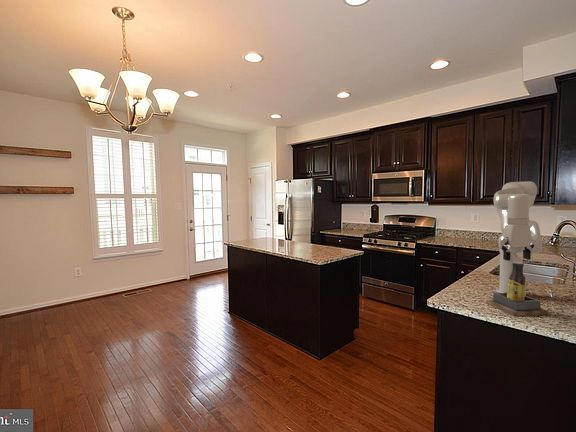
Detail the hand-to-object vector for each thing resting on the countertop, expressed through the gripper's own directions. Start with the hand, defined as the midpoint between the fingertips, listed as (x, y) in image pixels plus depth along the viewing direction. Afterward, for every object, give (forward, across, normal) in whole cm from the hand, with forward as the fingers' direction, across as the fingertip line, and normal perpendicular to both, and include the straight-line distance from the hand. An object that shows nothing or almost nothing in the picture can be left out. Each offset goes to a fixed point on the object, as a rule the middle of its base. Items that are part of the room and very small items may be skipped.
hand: (516, 259), depth 129 cm
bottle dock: (+23, 0, +1) cm, 23 cm away
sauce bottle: (+21, 0, 0) cm, 21 cm away
